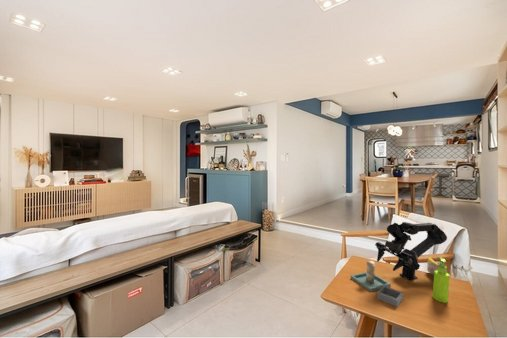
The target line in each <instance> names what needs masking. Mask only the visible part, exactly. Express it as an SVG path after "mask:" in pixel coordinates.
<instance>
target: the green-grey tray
mask: <svg viewBox="0 0 507 338" xmlns="http://www.w3.org/2000/svg"><path fill="white" fill-rule="evenodd" d="M350 280H351V281H354V282H356V283H357V284H359V285H360V286H362V287H364V289H366V290H368V291H369V292H375V291H379V290H380V289H381V288H382V287H383V286H386V287H389V288H391V285H392V283H390V282H388V280H385V279H384V278H382V277H380V276H379V275H377V274H374V284H369V283H367V282H366V271H365V272H360V273H356V274H355V273H354V274H350Z"/></svg>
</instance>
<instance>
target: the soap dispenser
mask: <svg viewBox="0 0 507 338" xmlns="http://www.w3.org/2000/svg"><path fill="white" fill-rule="evenodd" d="M436 258H437V259H438V260H439V261H440V263H439V264H438V270H436V271H434V276H433V287H432V298H433V299H434V300H436V302H439V303H449V288H450V275H451V274H450V273H448V272H447V269H448V268H447V266H446V263H447V260H446V259H445V258H444V257H440V256H437V257H436Z"/></svg>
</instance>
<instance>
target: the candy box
mask: <svg viewBox="0 0 507 338" xmlns="http://www.w3.org/2000/svg"><path fill="white" fill-rule="evenodd" d="M438 265H439V264H438V263H437V262H436V261H435V260H434V259H433V258H432V257H427V267H426V269H427V272H428V273H430V275H432V277H434V271H436V270H438Z"/></svg>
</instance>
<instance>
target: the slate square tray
mask: <svg viewBox="0 0 507 338" xmlns="http://www.w3.org/2000/svg"><path fill="white" fill-rule="evenodd" d="M376 295H377V300H379V301H382V302H384V303H387V304H389V305H390V306H391V305H392V306H394V307H396V308H398V306H399V305H400V303H401V302H402V301H403V300H404V299H403V298H404V292H401V291H399V290H396V289H394V288H391V287H386V286H383V287H382V288H381V289H378V290H377V294H376Z"/></svg>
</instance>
